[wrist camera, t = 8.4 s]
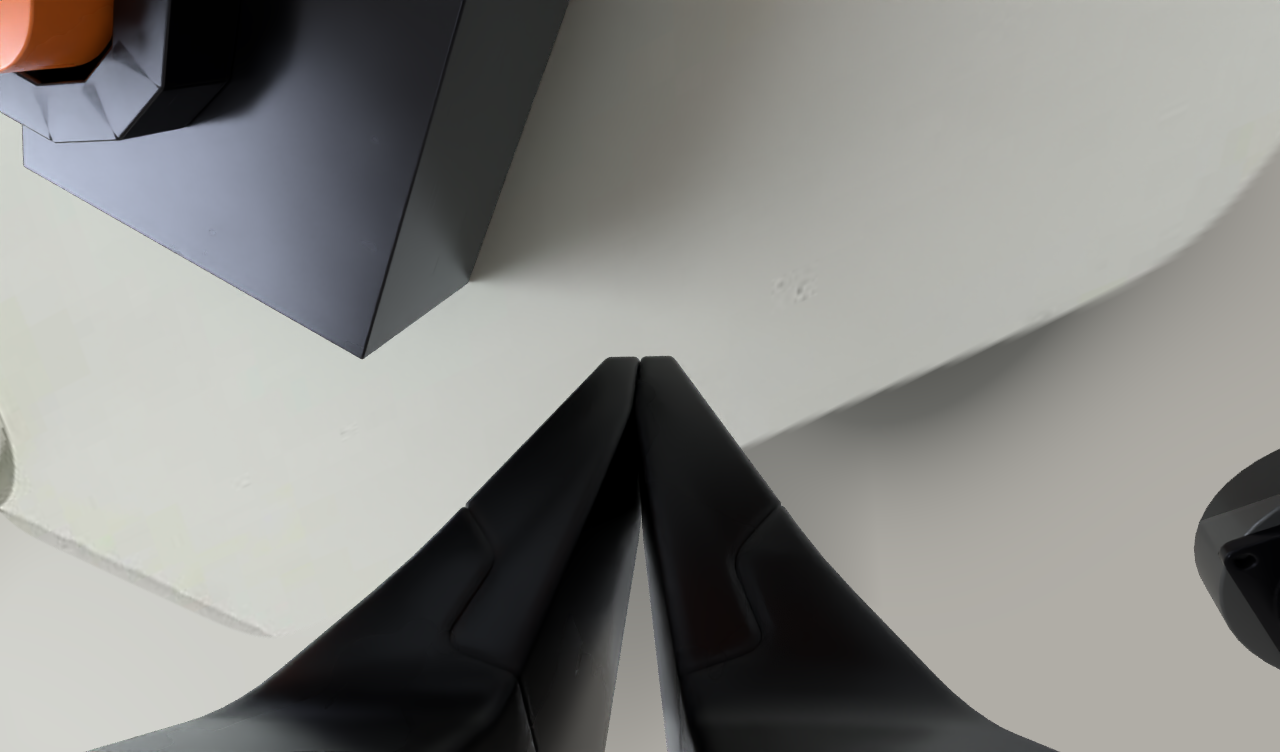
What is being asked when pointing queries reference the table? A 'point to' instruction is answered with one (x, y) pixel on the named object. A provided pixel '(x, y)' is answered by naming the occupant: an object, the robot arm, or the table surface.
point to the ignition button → (52, 33)
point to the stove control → (300, 143)
